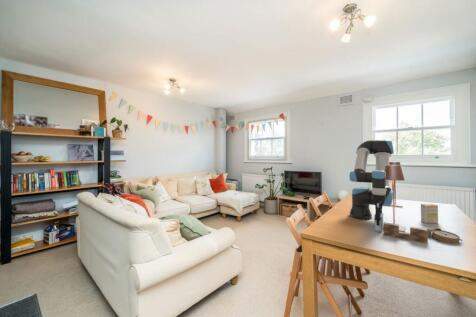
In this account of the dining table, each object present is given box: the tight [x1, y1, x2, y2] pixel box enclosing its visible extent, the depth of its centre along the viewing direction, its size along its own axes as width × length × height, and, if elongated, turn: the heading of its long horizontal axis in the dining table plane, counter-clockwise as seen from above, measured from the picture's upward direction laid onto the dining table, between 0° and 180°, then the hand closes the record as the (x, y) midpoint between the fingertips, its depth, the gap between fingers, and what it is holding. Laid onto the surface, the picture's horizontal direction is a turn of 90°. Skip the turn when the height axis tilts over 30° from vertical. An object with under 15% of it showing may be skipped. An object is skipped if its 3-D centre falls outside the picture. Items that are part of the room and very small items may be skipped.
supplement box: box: [420, 203, 439, 224], centre depth 146 cm, size 8×5×13 cm, turn 84°
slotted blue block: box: [373, 212, 384, 234], centre depth 134 cm, size 10×4×10 cm, turn 141°
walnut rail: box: [383, 221, 429, 244], centre depth 120 cm, size 20×3×7 cm, turn 51°
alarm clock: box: [426, 227, 463, 244], centre depth 119 cm, size 11×5×15 cm
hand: (378, 227), depth 134 cm, fingers closed on slotted blue block, 10 cm apart
